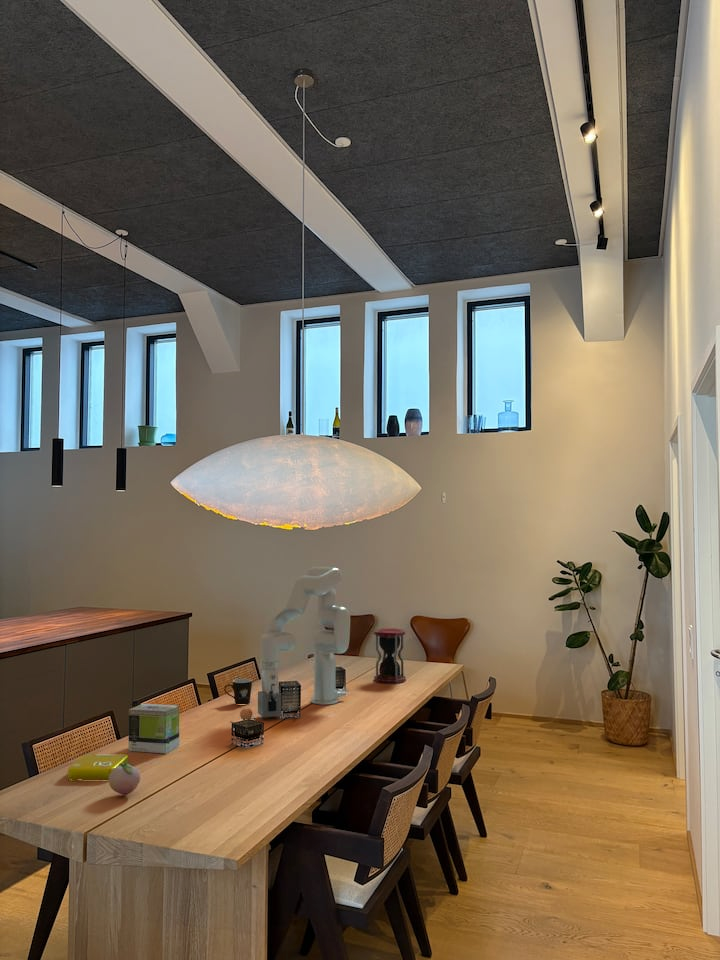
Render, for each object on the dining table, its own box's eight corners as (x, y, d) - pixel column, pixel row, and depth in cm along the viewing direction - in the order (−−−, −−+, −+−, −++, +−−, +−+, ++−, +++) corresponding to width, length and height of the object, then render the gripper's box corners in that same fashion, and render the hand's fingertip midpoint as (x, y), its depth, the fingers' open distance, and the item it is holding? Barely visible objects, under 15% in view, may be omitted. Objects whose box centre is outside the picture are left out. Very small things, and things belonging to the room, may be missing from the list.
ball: (237, 709, 305) (240, 720, 306) (239, 712, 301) (243, 723, 301) (249, 704, 307) (252, 716, 307) (251, 707, 302) (255, 719, 303)
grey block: (276, 711, 313) (276, 689, 313) (281, 715, 305) (281, 693, 306) (257, 713, 310) (257, 691, 310) (262, 717, 302) (262, 695, 303)
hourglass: (368, 678, 382) (368, 629, 384) (396, 676, 389) (396, 627, 390) (382, 685, 368) (382, 633, 369) (411, 682, 374) (411, 631, 376)
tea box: (180, 746, 270) (180, 704, 270) (165, 754, 260) (165, 711, 261) (142, 743, 274) (143, 702, 274) (127, 751, 264) (127, 708, 265)
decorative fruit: (103, 795, 221) (103, 761, 222) (128, 788, 227) (129, 755, 228) (118, 804, 215) (118, 768, 215) (144, 796, 220) (144, 762, 221)
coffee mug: (254, 701, 336) (254, 678, 336) (249, 706, 327) (249, 682, 328) (228, 700, 337) (228, 678, 337) (223, 705, 328) (223, 682, 329)
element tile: (129, 767, 248) (129, 752, 249) (113, 782, 233) (113, 767, 234) (84, 766, 249) (85, 752, 249) (65, 782, 234) (65, 766, 234)
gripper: (284, 668, 302) (284, 712, 301) (272, 660, 318) (272, 702, 317) (266, 669, 299) (266, 714, 298) (255, 662, 315) (255, 704, 314)
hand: (269, 708), depth 308 cm, fingers closed on grey block, 7 cm apart
